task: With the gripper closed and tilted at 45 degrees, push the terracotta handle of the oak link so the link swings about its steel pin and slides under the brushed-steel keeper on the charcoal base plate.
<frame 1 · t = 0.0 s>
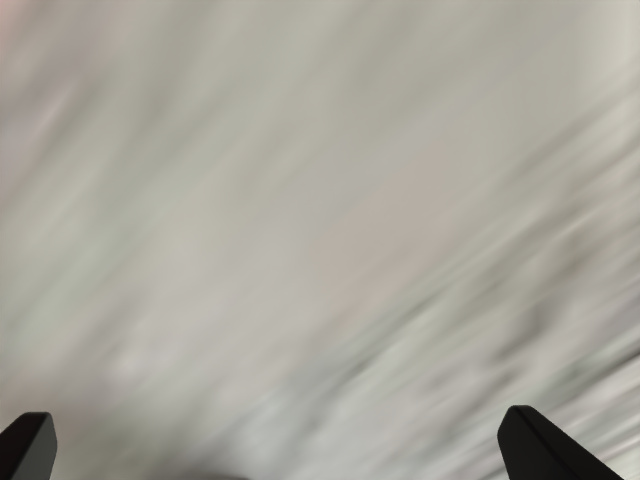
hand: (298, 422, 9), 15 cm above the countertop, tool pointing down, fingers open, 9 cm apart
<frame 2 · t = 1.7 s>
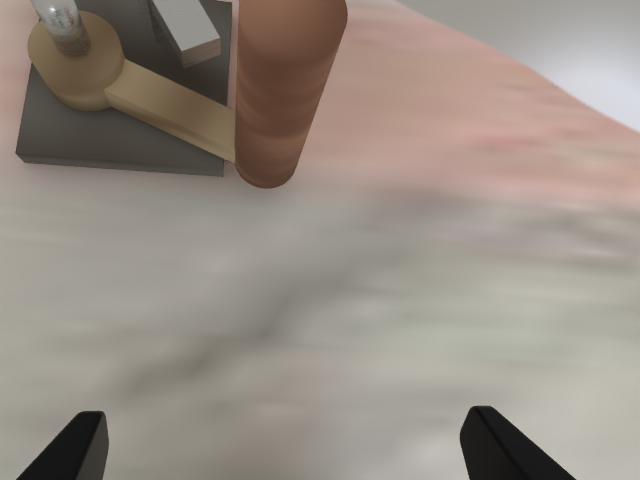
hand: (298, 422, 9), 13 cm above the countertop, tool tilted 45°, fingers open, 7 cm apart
link: (161, 49, 17), point 6 cm above the countertop, hinge at 0.0°
base plate: (97, 93, 23), on the countertop
keeper: (145, 6, 21), on the base plate, point 4 cm above the countertop
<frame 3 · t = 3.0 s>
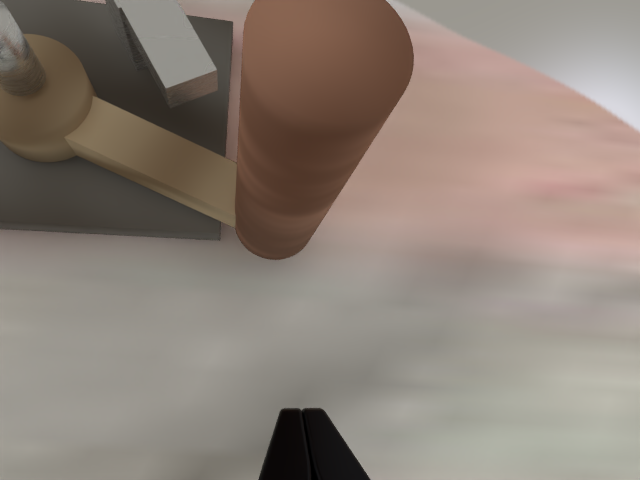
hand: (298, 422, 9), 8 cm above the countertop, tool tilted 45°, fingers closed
link: (135, 91, 12), point 6 cm above the countertop, hinge at 0.0°
base plate: (62, 135, 18), on the countertop
keeper: (120, 28, 16), on the base plate, point 4 cm above the countertop
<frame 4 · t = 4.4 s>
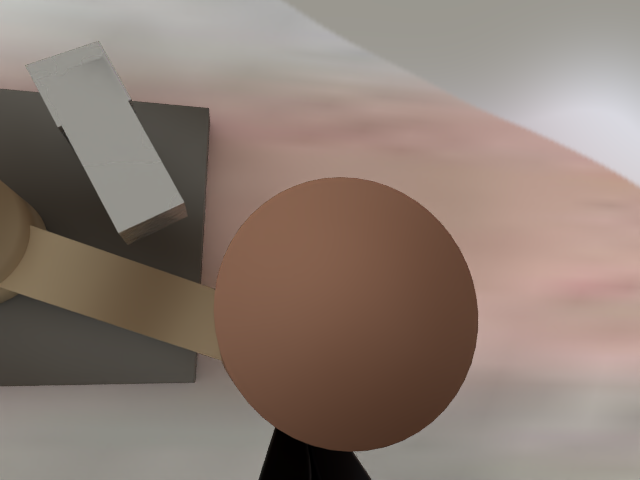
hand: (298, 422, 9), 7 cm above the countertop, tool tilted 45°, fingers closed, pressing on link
link: (74, 260, 9), point 6 cm above the countertop, hinge at 4.3°, touching gripper
base plate: (2, 258, 15), on the countertop
keeper: (62, 147, 13), on the base plate, point 4 cm above the countertop
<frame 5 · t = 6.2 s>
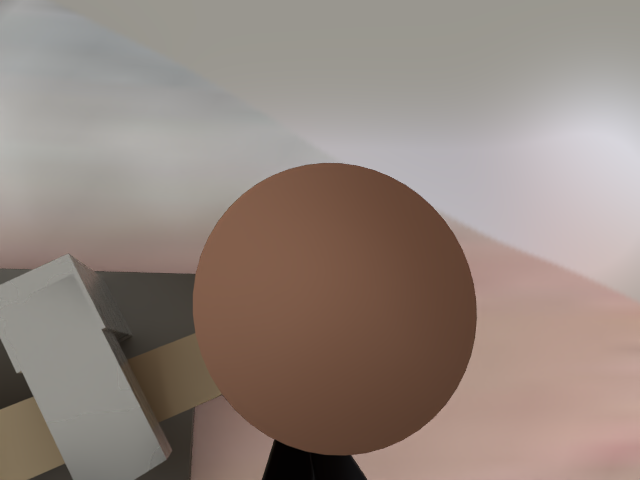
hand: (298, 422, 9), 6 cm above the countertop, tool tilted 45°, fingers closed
link: (42, 429, 8), point 6 cm above the countertop, hinge at 45.0°, touching gripper
keeper: (24, 385, 11), on the base plate, point 4 cm above the countertop
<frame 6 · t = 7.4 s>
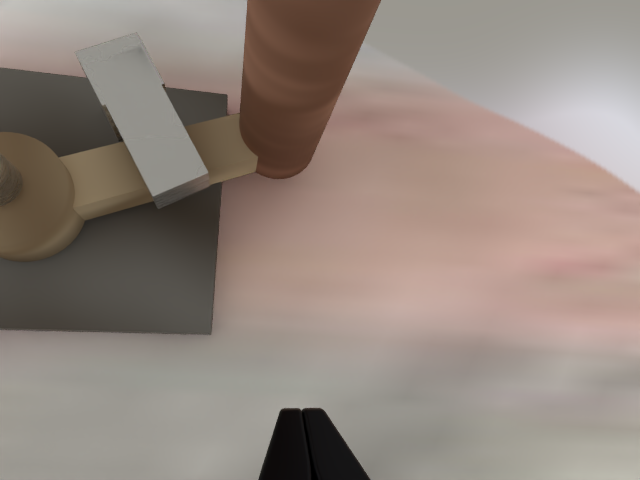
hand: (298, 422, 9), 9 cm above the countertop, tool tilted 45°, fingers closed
link: (132, 102, 12), point 6 cm above the countertop, hinge at 45.0°
base plate: (44, 221, 17), on the countertop
keeper: (104, 124, 15), on the base plate, point 4 cm above the countertop
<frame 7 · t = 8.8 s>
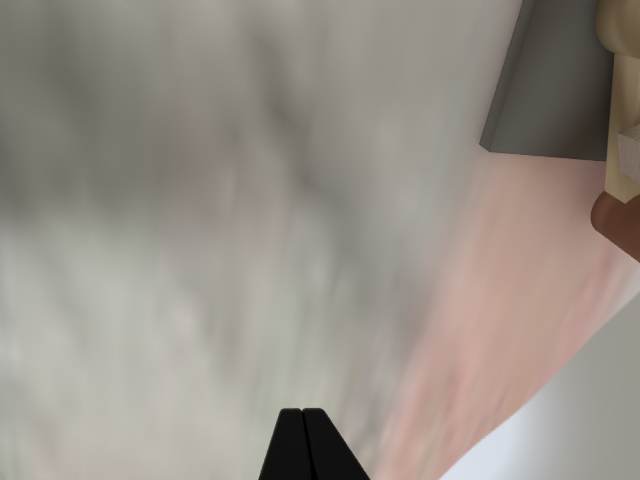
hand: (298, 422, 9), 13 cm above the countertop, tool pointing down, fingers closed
base plate: (615, 1, 19), on the countertop
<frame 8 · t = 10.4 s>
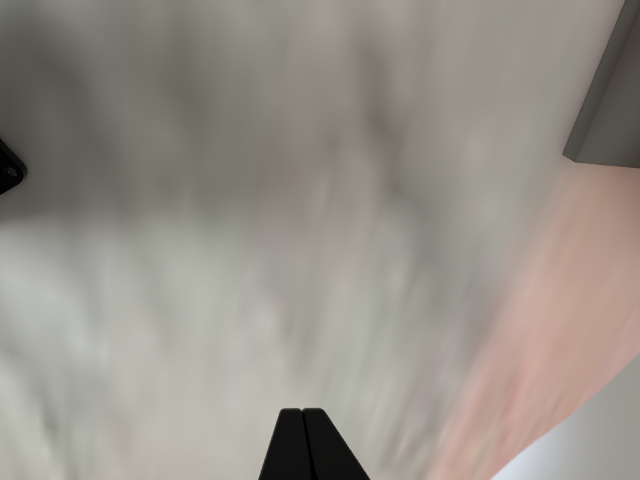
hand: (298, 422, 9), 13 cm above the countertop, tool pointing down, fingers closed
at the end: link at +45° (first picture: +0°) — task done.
